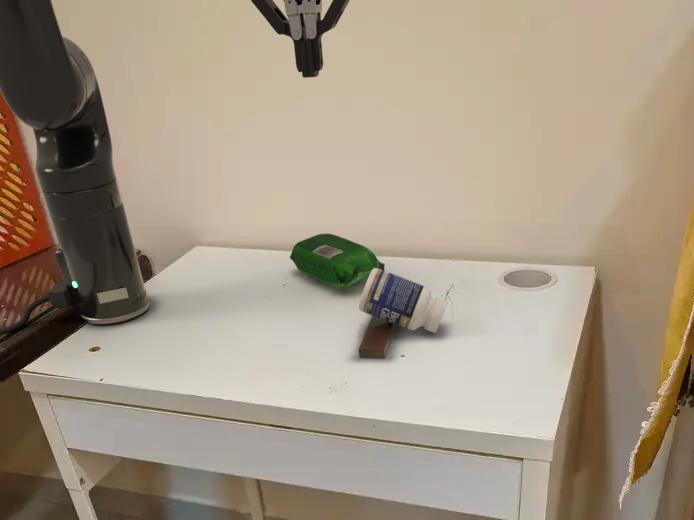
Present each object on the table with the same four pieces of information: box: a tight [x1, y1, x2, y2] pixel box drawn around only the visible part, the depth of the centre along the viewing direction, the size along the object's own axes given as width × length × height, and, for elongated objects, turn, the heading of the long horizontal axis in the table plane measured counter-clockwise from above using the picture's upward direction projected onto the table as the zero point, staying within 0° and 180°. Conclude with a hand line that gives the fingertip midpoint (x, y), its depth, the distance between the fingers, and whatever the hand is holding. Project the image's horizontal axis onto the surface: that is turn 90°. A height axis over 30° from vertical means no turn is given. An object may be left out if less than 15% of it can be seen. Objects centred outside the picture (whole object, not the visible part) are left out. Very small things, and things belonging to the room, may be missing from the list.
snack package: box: [289, 233, 386, 290], centre depth 102 cm, size 7×16×5 cm, turn 35°
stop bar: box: [358, 315, 397, 359], centre depth 88 cm, size 3×12×1 cm, turn 168°
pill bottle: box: [358, 268, 448, 334], centre depth 86 cm, size 5×5×10 cm
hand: (310, 76), depth 82 cm, fingers closed
